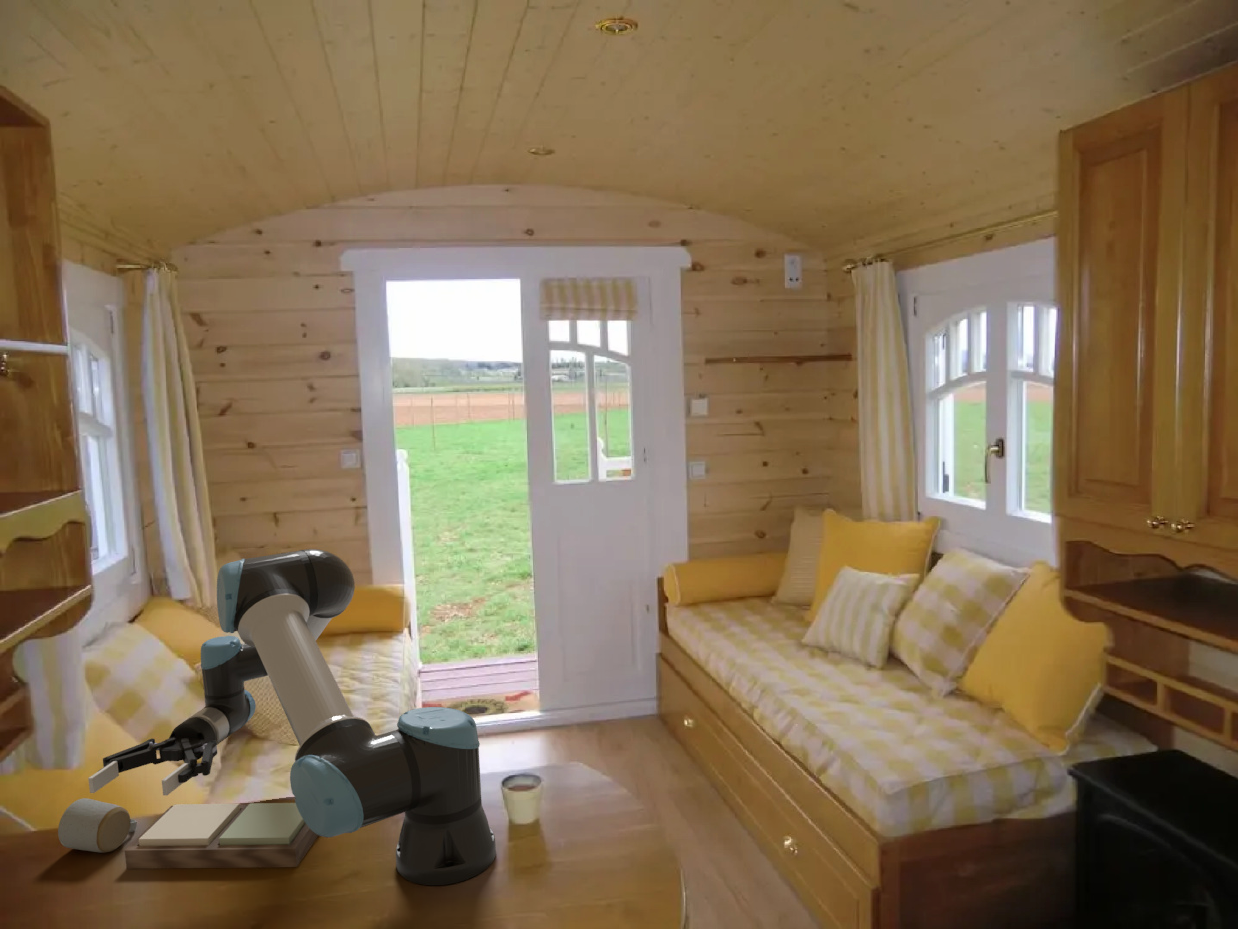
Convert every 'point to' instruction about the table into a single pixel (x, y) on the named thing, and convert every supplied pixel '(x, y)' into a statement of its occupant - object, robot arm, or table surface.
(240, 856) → the key pad frame
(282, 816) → the sage key
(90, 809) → the ceramic mug
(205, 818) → the cream key
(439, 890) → the table surface
